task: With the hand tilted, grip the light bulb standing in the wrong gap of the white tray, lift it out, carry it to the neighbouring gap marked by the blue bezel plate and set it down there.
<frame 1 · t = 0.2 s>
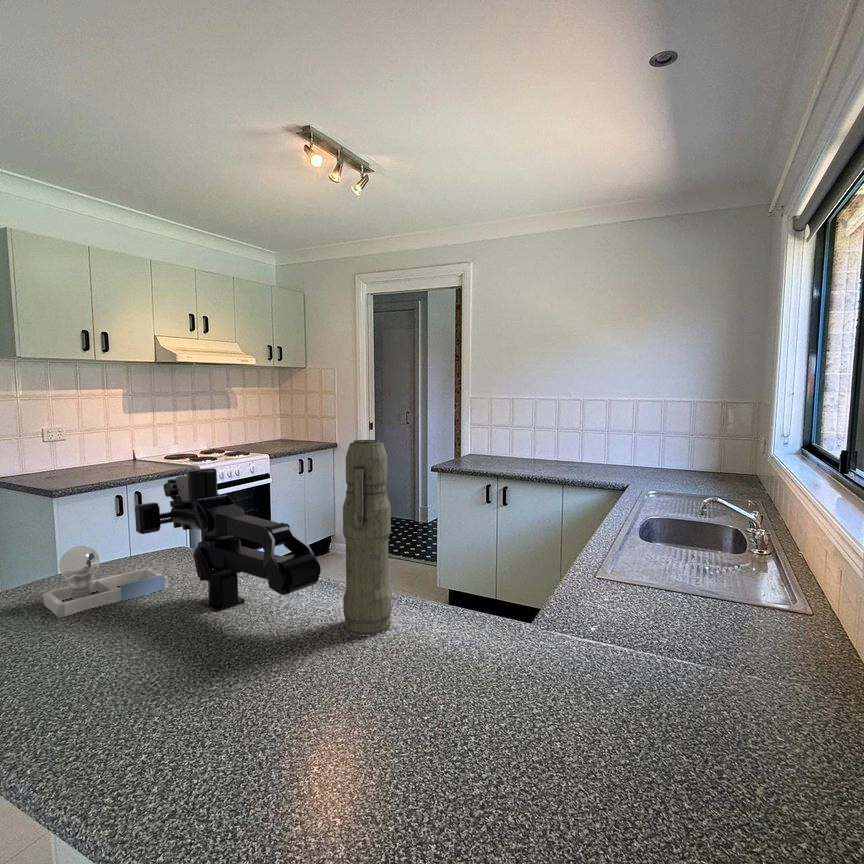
hand: (163, 509, 122), 17 cm above the countertop, tool horizontal, fingers open, 9 cm apart
thermos: (367, 626, 97), on the countertop
light bulb: (81, 603, 108), resting in white tray
white tray: (108, 595, 112), on the countertop
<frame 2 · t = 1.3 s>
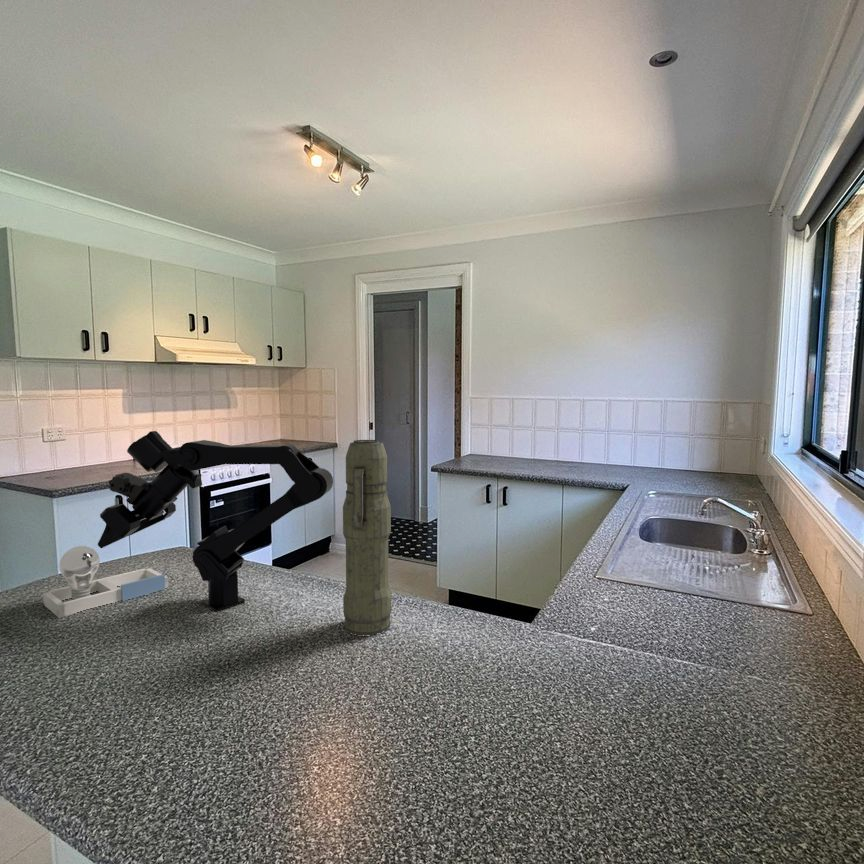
hand: (113, 540, 107), 13 cm above the countertop, tool tilted 45°, fingers open, 9 cm apart
nothing on the countertop moved.
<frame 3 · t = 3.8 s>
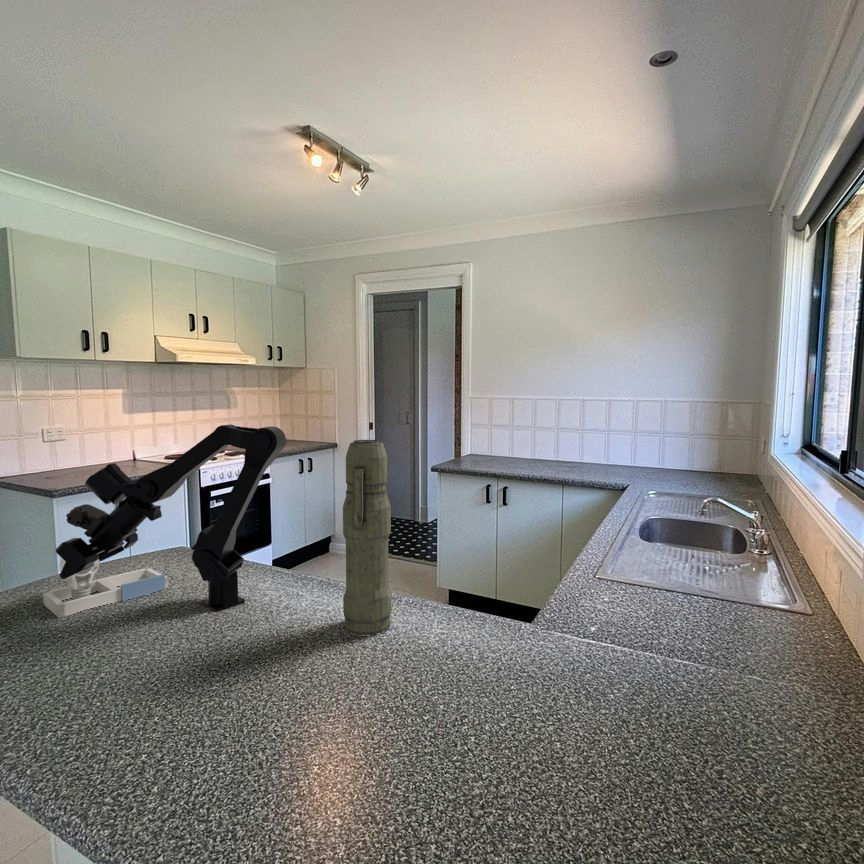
hand: (73, 571, 107), 7 cm above the countertop, tool tilted 45°, fingers closed on light bulb, 6 cm apart
light bulb: (81, 603, 108), resting in white tray, touching gripper
everything else where it was.
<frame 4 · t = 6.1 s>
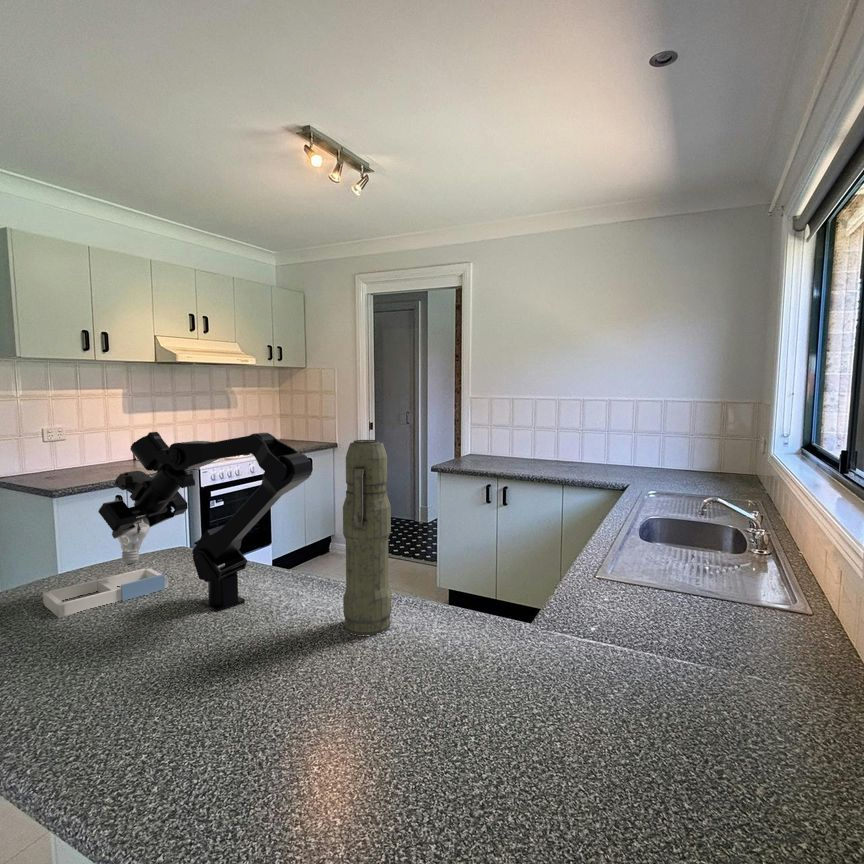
hand: (127, 533, 115), 13 cm above the countertop, tool tilted 45°, fingers closed on light bulb, 6 cm apart
light bulb: (130, 565, 114), point 6 cm above the countertop, touching gripper
everything else where it was.
when the fingers open (8 cm above the countertop, at t = 7.6 s): light bulb stays where it is, resting in white tray.
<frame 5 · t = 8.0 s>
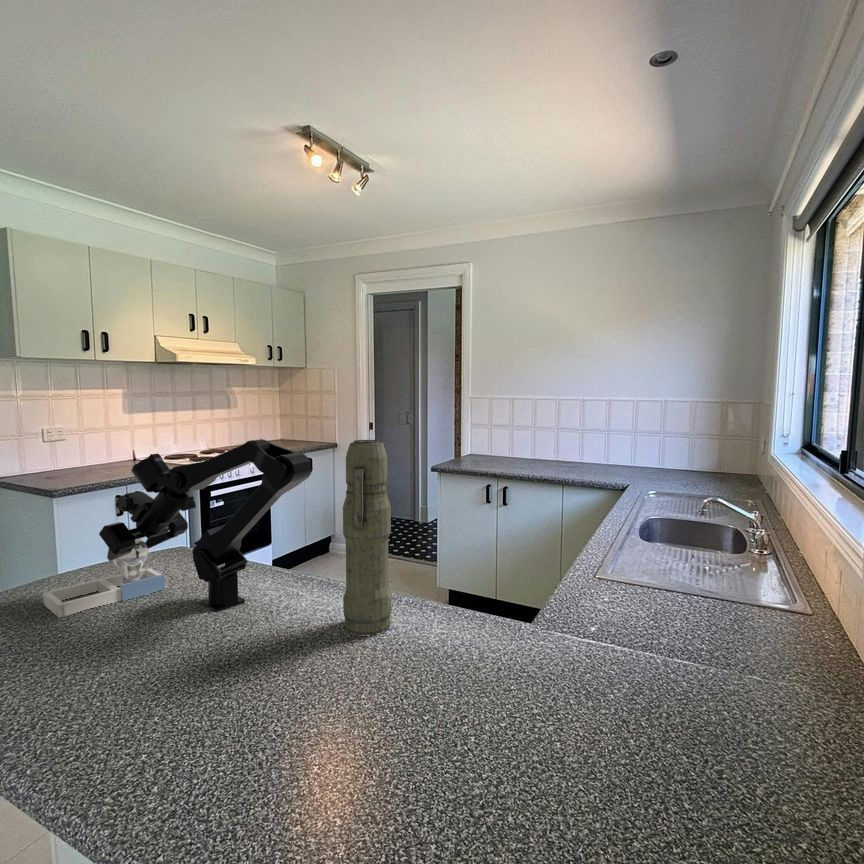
hand: (127, 553, 115), 8 cm above the countertop, tool tilted 45°, fingers open, 9 cm apart
light bulb: (131, 591, 115), resting in white tray
everything else where it was.
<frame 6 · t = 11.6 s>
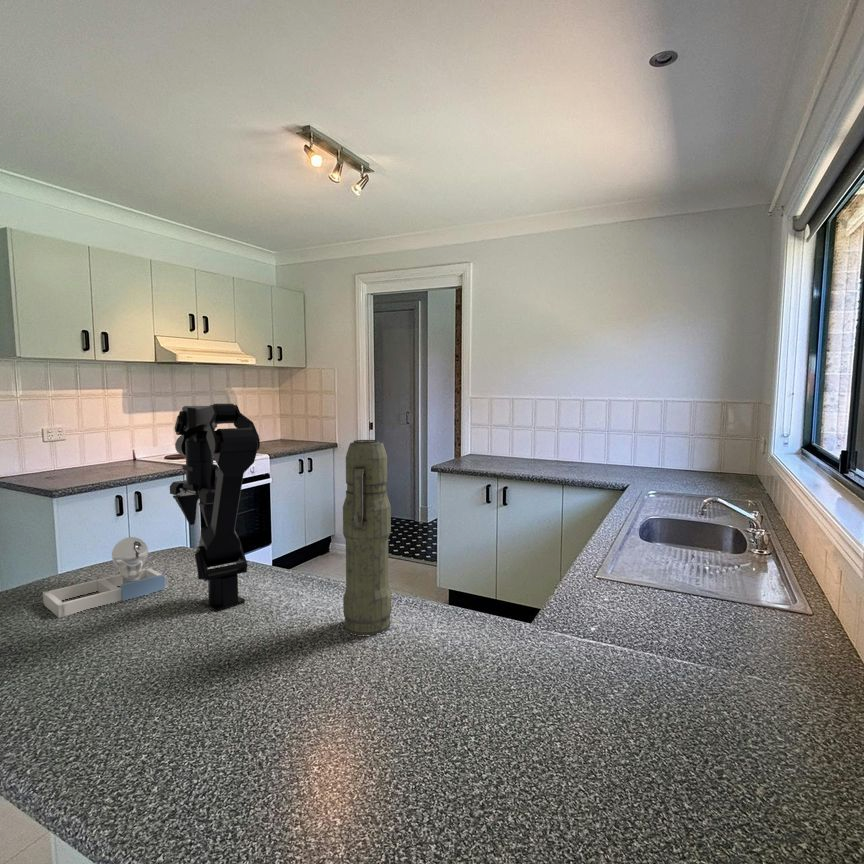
hand: (201, 527, 119), 13 cm above the countertop, tool pointing down, fingers open, 9 cm apart
nothing on the countertop moved.
at the end: light bulb 0.7 cm from the target spot on the white tray, point 0.0 cm above the white tray's base; light bulb tilted 0°; the gripper is holding nothing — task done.
